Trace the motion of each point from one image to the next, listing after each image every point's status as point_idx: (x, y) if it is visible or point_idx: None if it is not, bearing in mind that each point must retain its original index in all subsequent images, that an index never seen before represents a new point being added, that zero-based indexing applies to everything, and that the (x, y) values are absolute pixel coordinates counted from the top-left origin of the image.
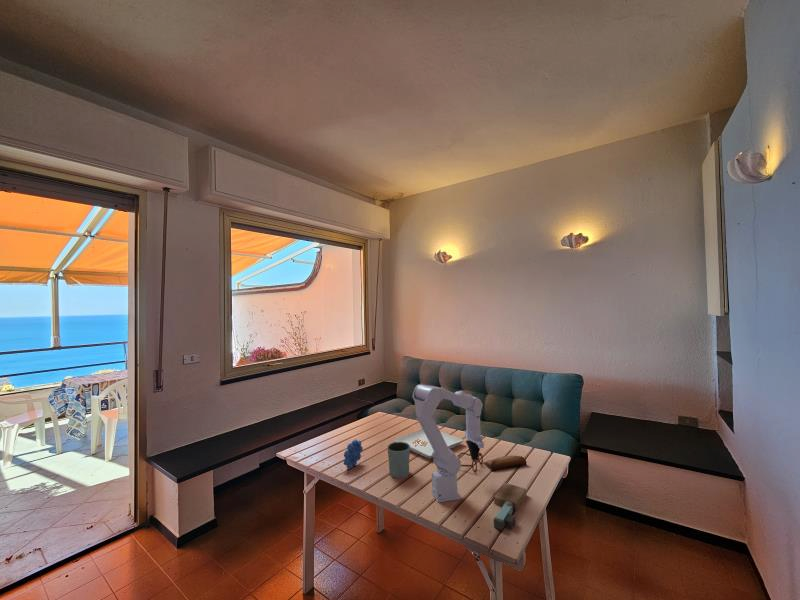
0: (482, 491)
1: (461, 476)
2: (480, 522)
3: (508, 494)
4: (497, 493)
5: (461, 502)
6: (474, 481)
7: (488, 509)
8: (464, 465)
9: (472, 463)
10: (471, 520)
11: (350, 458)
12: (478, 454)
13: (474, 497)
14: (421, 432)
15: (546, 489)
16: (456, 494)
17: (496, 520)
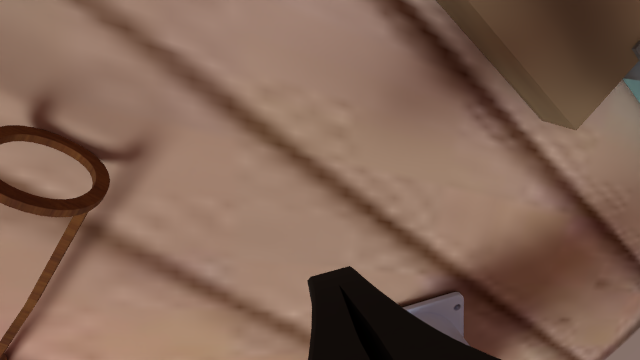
0: (405, 159)
1: (181, 271)
2: (634, 225)
3: (587, 9)
4: (552, 92)
5: (481, 291)
6: (265, 188)
7: (573, 167)
8: (55, 267)
9: (72, 210)
10: (609, 260)
11: None
12: (386, 297)
13: (456, 220)
14: None
15: None
16: (452, 325)
17: None
